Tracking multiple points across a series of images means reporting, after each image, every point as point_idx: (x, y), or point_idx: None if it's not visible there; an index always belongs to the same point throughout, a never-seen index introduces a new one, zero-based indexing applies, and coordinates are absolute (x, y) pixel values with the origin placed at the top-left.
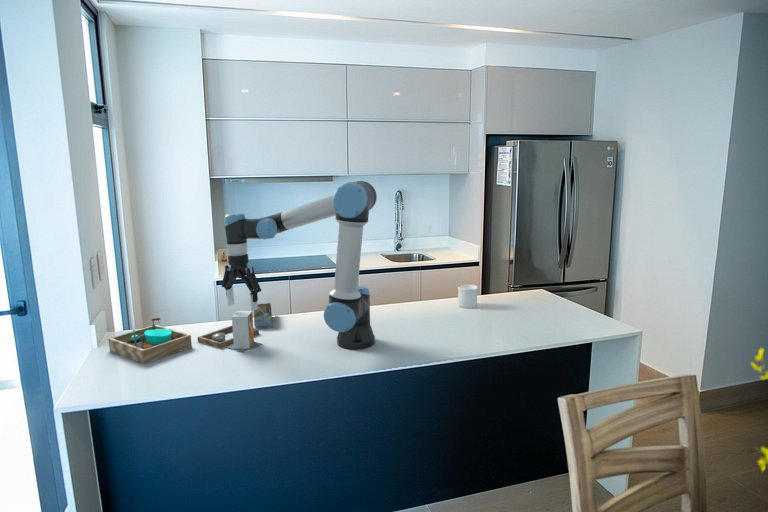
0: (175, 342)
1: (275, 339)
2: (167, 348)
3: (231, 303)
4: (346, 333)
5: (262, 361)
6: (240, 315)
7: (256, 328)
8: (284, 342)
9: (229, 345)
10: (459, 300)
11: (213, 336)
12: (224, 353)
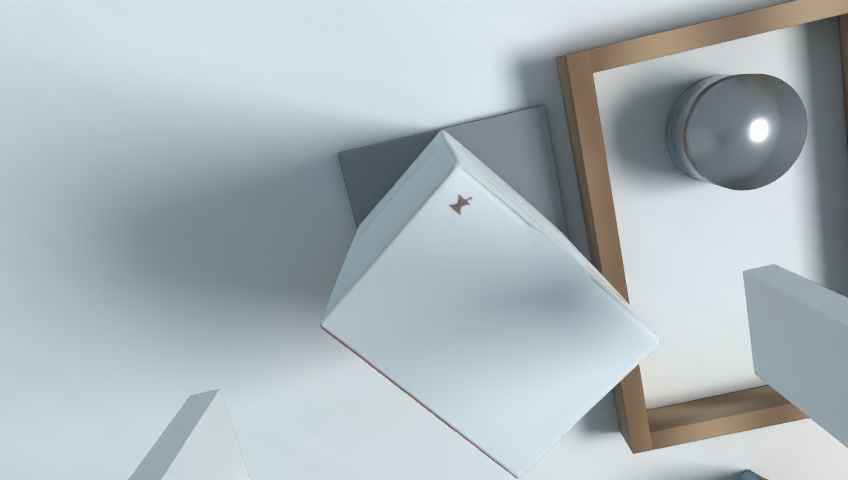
0: None
1: (424, 459)
2: None
3: (766, 331)
4: None
5: (73, 176)
6: (433, 279)
7: (743, 476)
8: (321, 472)
9: (545, 139)
10: None
11: (745, 76)
12: (429, 34)
